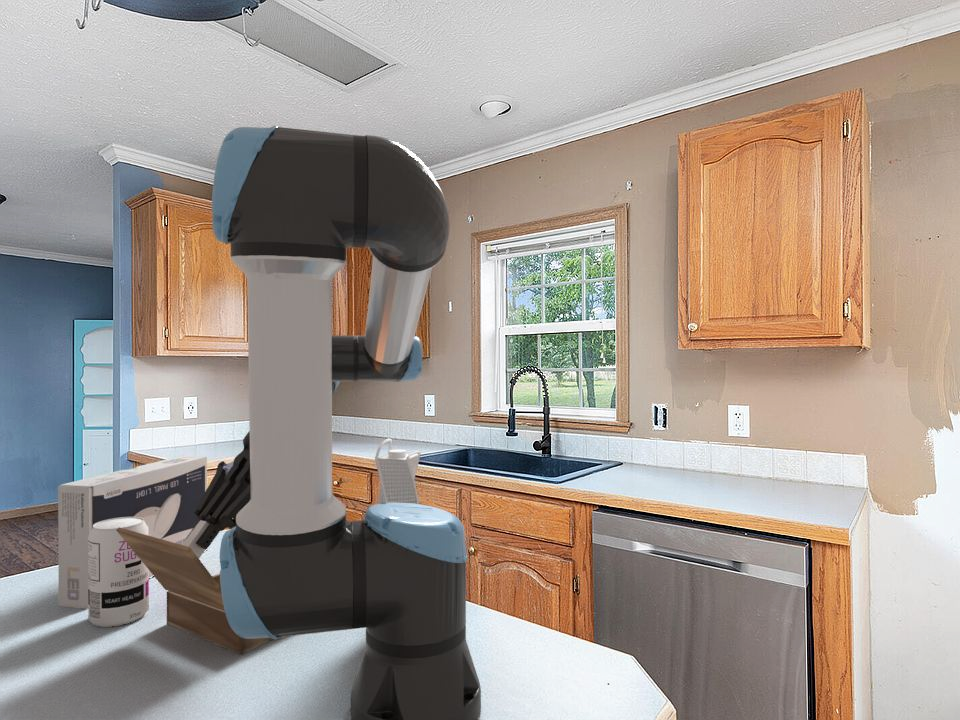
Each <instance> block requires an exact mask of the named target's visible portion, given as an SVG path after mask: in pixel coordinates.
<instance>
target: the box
mask: <svg viewBox="0 0 960 720" xmlns="http://www.w3.org/2000/svg"><path fill="white" fill-rule="evenodd" d="M211 576H212V577H213V578H214V580H215V581H216V582H217V584H218V585H219V586H220V588H221V584H220V573H218V574H214V575H211ZM166 624H167V625H168V624H169V625H168V626H170V625H171V626H170V627H173V628H175V627H176V628H175V629H178V628H179V629H178V630H180V629H181V630H180V631H182V630H183V632H185V633H187V632H188V634H190V635H192V636H196V637H197V638H200V639H202V640H204V641H208V642H210V643H211V644H214V645H217V646H219V647H222V648H225V649H226V650H228V651H229V650H230V651H231V652H234V653H237V654H239V655H243V654H246V653H248V652H250V651H252V650H254V649H256V648H258V647H260V646H263V645H265V644H266V643H269V642H270V641H273V640H274V639H272V638H255V639H246V638H242V637H240V636H238V635H237V634H236V633H235V632H234V631H233V630H232V629H231V627H230V625H229V623H228V620H227V617H226V614H225V611H224V610H221V609H218V608H215V607H213V606H210V605H207V604H204V603H201V602H199V601H196V600H193V599H190V598H187V597H185V596H182V595H179V594H176V593H174V592H171V591H168V590H166Z"/></svg>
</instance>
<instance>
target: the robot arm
mask: <svg viewBox="0 0 960 720" xmlns="http://www.w3.org/2000/svg"><path fill="white" fill-rule="evenodd" d="M213 175H214V177H213V184H212V194H211V212H212V224H211V225H212V231H213V234H214V237H215V239H216V240H217V241H218V242H221V243H223V244H225V245H229V244H230V261H231V262H232V263H233V264H234V265H235V266H236V267H237V268H238V269H239V270H240V272H242V273H243V274H244V275H245V278H246V282H247V284H246V286H247V291H246V292H247V342H248V346H247V347H248V407H249V408H248V410H249V411H248V413H249V414H248V415H249V416H248V417H249V419H248V420H249V421H248V422H249V425H248V426H249V430H248V432H247V433H246V435H245V436H244V437H243V439H242V444H243V450H242V451H240V453H238V454H237V455H236V456H235V457H234V459H233V461H231V462H227V463H226V462H225V460H224V461H223V460H222V461H220V462H219V463H218V464H217V467H216V472H215V474H214V476H213V477H212V479H211V481H210V483H209V485H207V490H206V492H205V493H204V495H203V497H202V499H201V500H200V502H199V504H198V506H197V507H196V509H195V511H194V514H195V515H196V516H197V517H198V519H199V521H198V523H197V524H196V525H195V527H194V528H193V529H192V531H191V532H190V534H189V535H188V536H187V538H186V540H185V542H184V543H183V544H182V545H183V546H187V547H190V548H191V549H192V551H193V552H194V553H195V554H196V556H197V557H198V558H199V559H200V558H201V557H202V555H203V554H204V553H205V552H206V551H205V549H207V550H208V548H209V547H210V546H211V545H212V543H213V542H214V540H215V539H216V538H217V537H218V535H219V533H220V532H223V531H224V530H225V529H227V528H228V530H226V531H225V532H224V534H223V535H222V538H221V542H220V547H219V548H220V549H219V567H220V572H219V574H220V584H221V593H222V600H223V605H224V610H225V614H226V617H227V620H228V623H229V625H230V627H231V629H232V630H233V631H234V632H235V633H236V634H237V635H238V636H240V637H242V638H246V639H255V638H272V639H273V640H280V639H282V638H284V637H292V636H300V635H310V634H319V633H328V632H337V631H348V630H354V629H364V628H365V646H364V649H363V653H362V656H361V658H360V662H359V665H358V668H357V669H358V670H357V671H356V675H355V679H354V681H353V685H352V689H351V691H350V720H478V718H479V717H480V713H481V709H482V706H481V705H482V690H481V688H482V687H481V682H480V680H479V676H478V674H477V670H476V667H475V664H474V661H473V657H472V655H471V652H470V649H469V645H468V642H467V635H466V634H467V629H466V627H467V610H466V609H467V561H468V553H467V545H466V532H465V531H466V530H465V527H464V524H463V523H462V521H461V520H460V519H459V518H458V517H457V516H456V515H454V514H453V513H452V512H450V511H447V510H444V509H442V508H439V507H435V506H432V505H431V506H430V505H425V504H420V503H419V504H413V503H396V502H392V503H384V504H377V503H375V504H373V505H370V506H369V507H368V508H367V509H366V511H365V514H363V520H349V521H347V507H346V505H345V504H344V503H343V502H342V501H340V499H339V498H337V497H336V496H335V495H334V494H333V396H334V394H335V393H336V389H337V388H338V386H339V385H340V382H395V383H396V382H397V383H400V382H401V381H414V380H415V381H416V380H417V379H418V378H419V377H420V375H421V373H422V366H423V347H422V342H421V338H419V337H418V336H416V333H417V328H418V325H419V321H420V317H421V313H422V309H423V305H424V301H425V298H426V293H427V289H428V286H429V282H430V279H431V274H432V269H433V268H434V267H436V266H437V265H438V264H439V263H440V262H441V261H442V259H443V256H444V255H445V252H446V249H447V244H448V241H449V237H450V214H449V213H450V212H449V208H448V205H447V202H446V198H445V196H444V193H443V191H442V188H441V187H440V185H439V183H438V181H437V180H436V178H435V176H434V175H433V173H432V172H431V171H430V169H429V167H427V166H426V165H425V163H424V162H423V161H422V160H421V159H420V158H419V157H418V156H417V155H416V154H415V153H413V152H412V151H411V150H409V149H408V148H406V147H405V146H404V145H402V144H400V143H399V142H396V141H393V140H391V139H389V138H387V137H386V138H385V137H382V136H377V135H368V134H366V135H357V134H356V135H355V134H347V133H338V132H336V133H335V132H330V131H329V132H328V131H318V130H309V129H299V128H290V127H282V126H281V127H280V126H276V125H272V126H270V127H258V126H257V127H255V126H254V127H253V126H241V127H240V126H239V127H236V128H233V129H232V130H230V131H229V132H228V133H227V134H226V136H225V137H224V139H223V140H222V144H221V146H220V148H219V151H218V155H217V158H216V164H215V170H214V174H213ZM348 248H363V249H364V248H368V250H369V253H370V254H371V256H372V265H371V273H370V275H371V276H370V284H369V285H370V286H369V295H368V303H367V304H368V305H367V313H366V314H367V315H366V325H365V334H364V335H357V334H356V335H355V334H354V335H353V334H352V335H350V334H349V335H348V334H347V335H345V334H344V335H343V334H342V335H338V334H334V335H333V333H332V332H333V330H332V329H333V321H332V320H333V317H332V316H333V314H332V313H333V309H332V308H333V303H332V302H333V300H332V299H333V298H332V295H333V293H332V291H333V289H332V287H333V286H332V285H333V283H332V282H333V279H334V277H335V276H336V275H337V274H338V273H339V272H340V271H341V270H342V269H343V268H344V267H345V266H347V249H348ZM204 551H205V552H204Z"/></svg>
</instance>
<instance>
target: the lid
mask: <svg viewBox="0 0 960 720" xmlns="http://www.w3.org/2000/svg"><path fill="white" fill-rule="evenodd" d="M116 531H117V532H118V533H119V534H120V535H121V537H122V538H123V539H124V540H125V541H126V543H127V544H128V545H129V546H130V548H131V549H132V550H133V551H134V552H135V554H136V555H137V556H138V557H139V558H140V560H141V561H142V562H143V563H144V565H145V566H146V567H147V568H148V569H149V571H150V572H151V573H152V574H153V575H154V577H153V578H155V579H156V581H158V583H159V584H160V585H161V587H163V589H164V590H165V591H171V592H174V593H176V594H179V595H182V596H185V597H187V598H190V599H193V600H196V601H199V602H201V603H204V604H207V605H210V606H213V607H215V608H218V609H221V610H224V605H223V600H222V593H221V588H220V586H219V585H218V584H217V582H216V581H215V580H214V578H213V577H212V576H213V575H212V574H211V573H210V571H209V570H208V569H207V568H206V566H205V565H204V564H203V562H202V561H201V560H200V558H198V557H197V556H196V554H195V553H194V552H193V551H192V549H191V548H190V547H187V546H183V545H180V544H176V543H173V542H169V541H166V540H162V539H159V538H155V537H152V536H148V535H144V534H141V533H137V532H134V531H130V530H127V529H123V528H120V527H119V528H118V529H116ZM224 611H225V610H224Z"/></svg>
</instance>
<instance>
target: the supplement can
mask: <svg viewBox="0 0 960 720" xmlns="http://www.w3.org/2000/svg"><path fill="white" fill-rule="evenodd" d="M119 527H120V528H123V529H127V530H130V531H134V532H137V533H141V534H144V535H148V526H147V525H146V523H145V522H144V519H143V518H141V517H120V518H113V519H108V520H103V521H100V522H97V523H95V524H94V525H93V528H92V530H91V532H90V534H89V536H88V609H87V610H88V616H87V617H88V621H89V622H90V623H92V624H93V625H94V626H95V627H99V626H100V628H113V627H112V626H114V627H120V626H124V625H123V624H125V625H128V624H131V623H134V622H136V621H138V620H140V619H141V618H142V617H144V616H145V614H146V613H147V612H148V611H149V609H150V606H149V605H150V602H149V601H150V600H149V599H150V593H149V592H150V587H149V586H150V581H149V580H150V579H149V569H148V568H147V567H146V566H145V565H144V563H143V562H142V561H141V560H140V558H139V557H138V556H137V555H136V554H135V552H134V551H133V550H132V549H131V548H130V546H129V545H128V544H127V543H126V541H125V540H124V539H123V538H122V537H121V535H120V534H119V533H118V532H117V531H116V529H118V528H119ZM148 536H149V535H148ZM139 618H140V619H139ZM137 619H138V620H137ZM135 620H136V621H135ZM133 621H134V622H133ZM130 622H131V623H130Z"/></svg>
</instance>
